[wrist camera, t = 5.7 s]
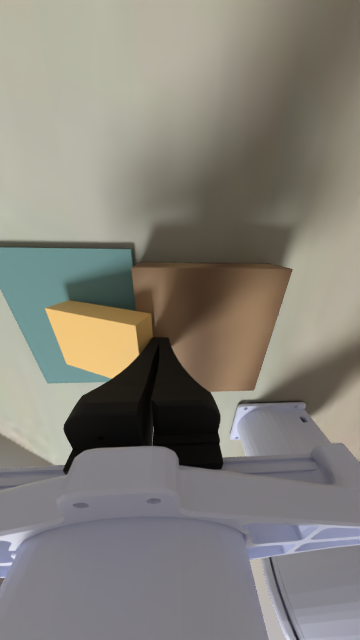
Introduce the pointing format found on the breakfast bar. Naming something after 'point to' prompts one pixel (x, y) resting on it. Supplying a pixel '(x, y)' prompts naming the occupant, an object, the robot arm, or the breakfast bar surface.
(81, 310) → the tile
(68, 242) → the breakfast bar surface
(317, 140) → the breakfast bar surface
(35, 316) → the mat
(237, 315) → the brown flat block
